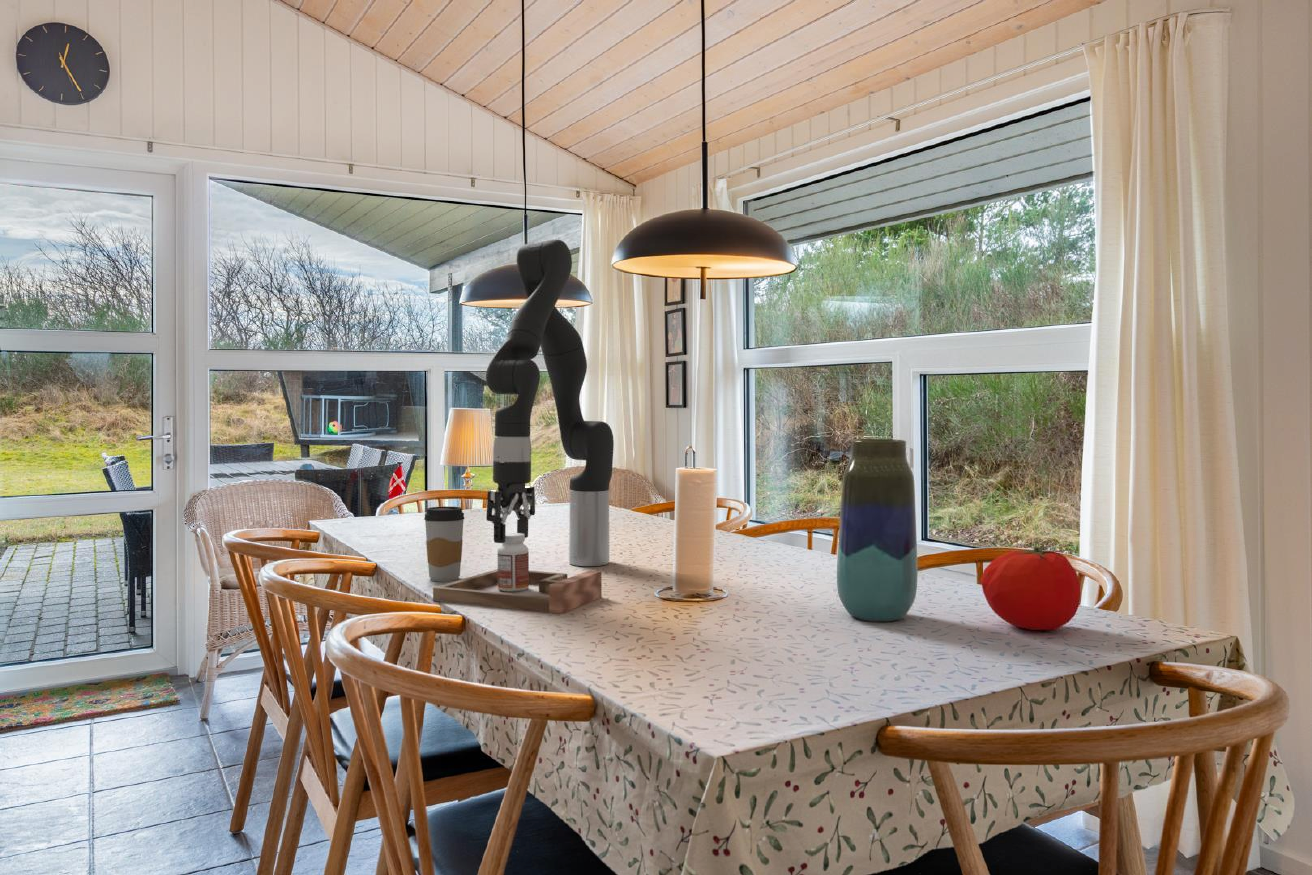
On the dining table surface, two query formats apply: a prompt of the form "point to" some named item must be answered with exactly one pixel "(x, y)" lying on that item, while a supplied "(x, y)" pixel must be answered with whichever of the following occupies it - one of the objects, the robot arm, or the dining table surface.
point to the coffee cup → (444, 542)
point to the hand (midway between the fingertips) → (511, 540)
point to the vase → (877, 532)
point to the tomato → (1032, 588)
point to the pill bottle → (513, 563)
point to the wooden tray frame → (557, 585)
